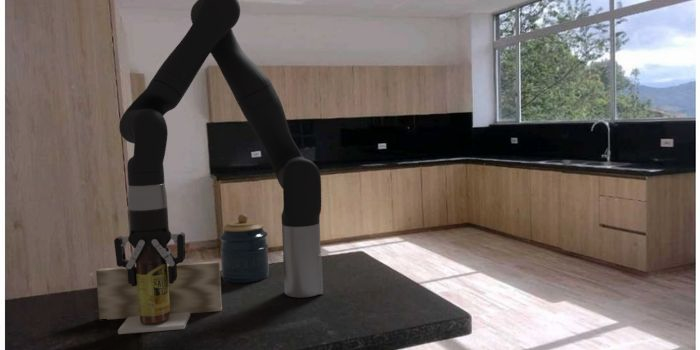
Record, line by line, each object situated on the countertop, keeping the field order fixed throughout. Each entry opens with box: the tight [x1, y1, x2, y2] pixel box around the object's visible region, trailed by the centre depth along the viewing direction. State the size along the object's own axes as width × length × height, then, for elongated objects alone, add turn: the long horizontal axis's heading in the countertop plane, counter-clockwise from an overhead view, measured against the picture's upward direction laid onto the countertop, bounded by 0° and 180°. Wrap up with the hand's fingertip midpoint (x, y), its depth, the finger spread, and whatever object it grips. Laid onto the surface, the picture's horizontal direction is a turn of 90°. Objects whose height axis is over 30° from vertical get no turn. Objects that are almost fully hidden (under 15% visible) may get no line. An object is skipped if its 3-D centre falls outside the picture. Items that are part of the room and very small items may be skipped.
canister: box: [219, 213, 270, 284], centre depth 148 cm, size 13×13×18 cm
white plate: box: [117, 312, 191, 335], centre depth 113 cm, size 13×8×1 cm, turn 98°
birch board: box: [95, 260, 223, 320], centre depth 119 cm, size 26×2×11 cm, turn 98°
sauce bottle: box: [135, 232, 170, 324], centre depth 113 cm, size 7×6×20 cm
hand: (153, 283), depth 113 cm, fingers open, 7 cm apart
